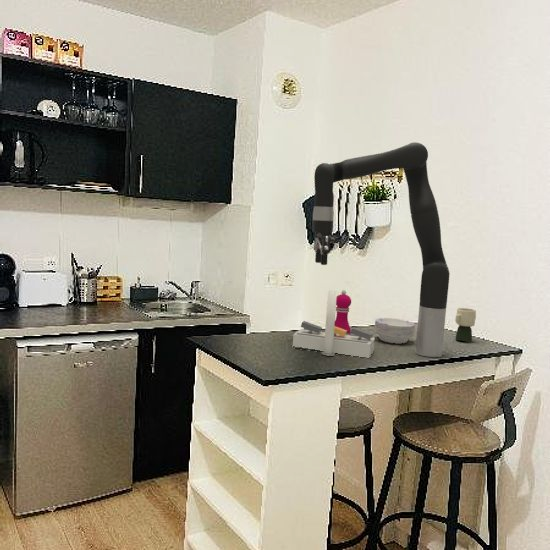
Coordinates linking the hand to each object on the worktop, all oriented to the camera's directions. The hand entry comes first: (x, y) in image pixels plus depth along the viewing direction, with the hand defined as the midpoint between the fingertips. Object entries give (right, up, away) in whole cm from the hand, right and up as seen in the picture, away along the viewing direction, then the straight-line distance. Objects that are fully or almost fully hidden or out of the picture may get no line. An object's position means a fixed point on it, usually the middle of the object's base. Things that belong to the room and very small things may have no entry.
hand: (320, 263), depth 205 cm
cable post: (+1, -32, -15) cm, 35 cm away
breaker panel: (+4, -31, -7) cm, 32 cm away
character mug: (+59, -31, +20) cm, 69 cm away
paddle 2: (+13, -25, -11) cm, 30 cm away
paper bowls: (+29, -30, +13) cm, 44 cm away
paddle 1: (-4, -24, -5) cm, 25 cm away
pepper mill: (+7, -30, +4) cm, 31 cm away
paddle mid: (+4, -24, -8) cm, 26 cm away
